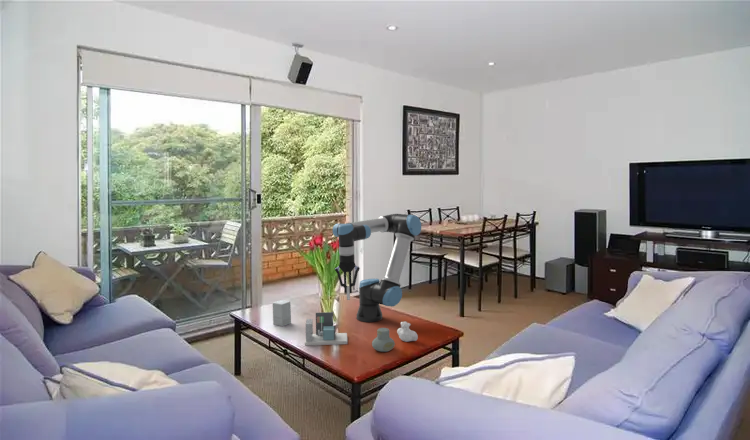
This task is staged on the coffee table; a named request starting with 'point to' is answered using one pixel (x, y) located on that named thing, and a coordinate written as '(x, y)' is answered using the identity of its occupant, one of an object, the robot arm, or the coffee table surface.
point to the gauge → (327, 332)
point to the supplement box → (281, 313)
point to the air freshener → (383, 341)
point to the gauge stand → (326, 321)
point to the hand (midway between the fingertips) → (348, 299)
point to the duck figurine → (406, 333)
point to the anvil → (309, 330)
